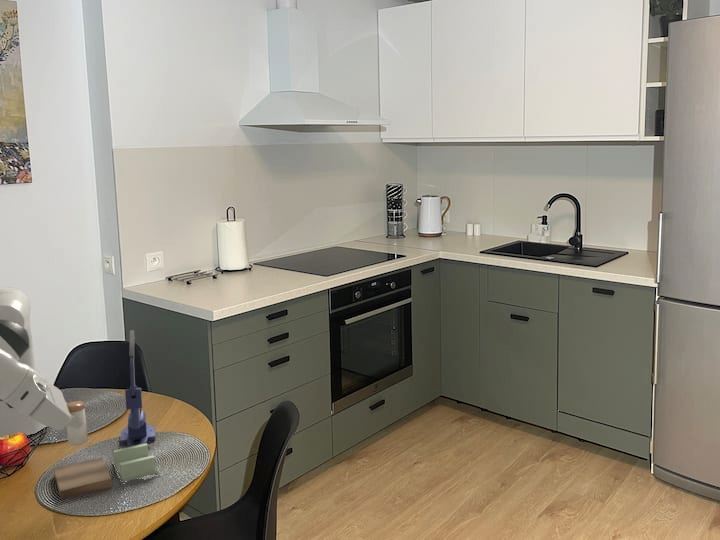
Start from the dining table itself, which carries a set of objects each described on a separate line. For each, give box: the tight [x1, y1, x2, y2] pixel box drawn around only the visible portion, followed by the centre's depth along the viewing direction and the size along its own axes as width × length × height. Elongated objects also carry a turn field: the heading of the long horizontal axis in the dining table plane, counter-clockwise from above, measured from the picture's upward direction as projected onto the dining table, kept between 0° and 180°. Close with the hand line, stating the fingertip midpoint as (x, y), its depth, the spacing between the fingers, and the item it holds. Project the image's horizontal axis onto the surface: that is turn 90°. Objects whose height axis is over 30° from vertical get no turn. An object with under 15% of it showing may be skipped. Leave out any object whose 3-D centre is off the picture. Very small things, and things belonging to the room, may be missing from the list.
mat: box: [118, 468, 162, 488], centre depth 167 cm, size 14×9×1 cm, turn 30°
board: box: [53, 457, 113, 501], centre depth 161 cm, size 12×11×2 cm
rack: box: [113, 443, 158, 482], centre depth 166 cm, size 10×8×4 cm
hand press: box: [120, 330, 156, 447], centre depth 181 cm, size 19×9×28 cm, turn 17°
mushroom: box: [66, 400, 89, 447], centre depth 157 cm, size 4×4×9 cm
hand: (79, 420), depth 157 cm, fingers closed on mushroom, 4 cm apart
